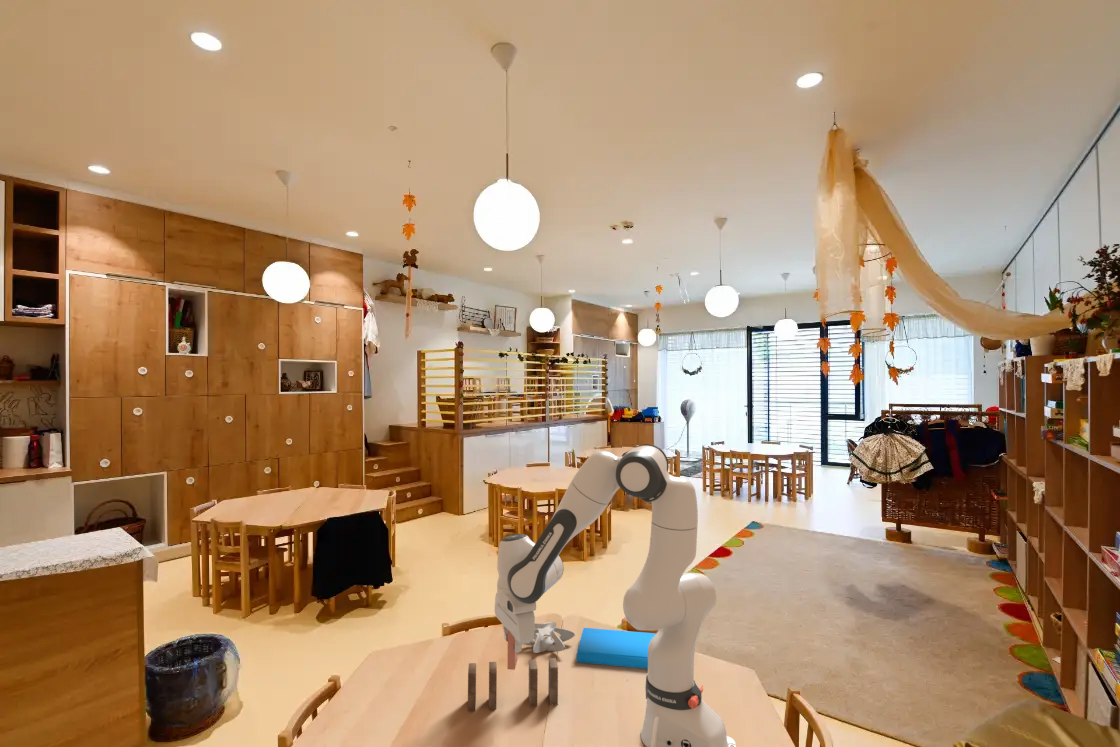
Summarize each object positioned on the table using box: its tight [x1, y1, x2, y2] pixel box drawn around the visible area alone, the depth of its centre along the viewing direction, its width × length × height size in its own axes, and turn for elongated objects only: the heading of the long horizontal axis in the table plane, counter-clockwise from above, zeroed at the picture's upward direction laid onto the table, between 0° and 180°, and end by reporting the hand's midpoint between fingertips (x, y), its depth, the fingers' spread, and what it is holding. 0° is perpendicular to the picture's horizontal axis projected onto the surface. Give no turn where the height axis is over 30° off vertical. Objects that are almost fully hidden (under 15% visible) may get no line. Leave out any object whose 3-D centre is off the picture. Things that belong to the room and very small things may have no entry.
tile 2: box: [488, 661, 498, 711], centre depth 146 cm, size 2×5×10 cm, turn 7°
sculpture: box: [524, 621, 576, 654], centre depth 179 cm, size 18×20×6 cm
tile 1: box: [467, 662, 477, 712], centre depth 145 cm, size 2×5×10 cm, turn 7°
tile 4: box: [528, 658, 539, 708], centre depth 148 cm, size 2×5×10 cm, turn 7°
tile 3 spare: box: [506, 631, 518, 671], centre depth 147 cm, size 2×5×10 cm, turn 177°
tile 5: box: [547, 657, 559, 706], centre depth 148 cm, size 2×5×10 cm, turn 7°
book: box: [576, 627, 657, 670], centre depth 174 cm, size 17×4×25 cm
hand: (512, 645), depth 147 cm, fingers closed on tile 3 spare, 5 cm apart
